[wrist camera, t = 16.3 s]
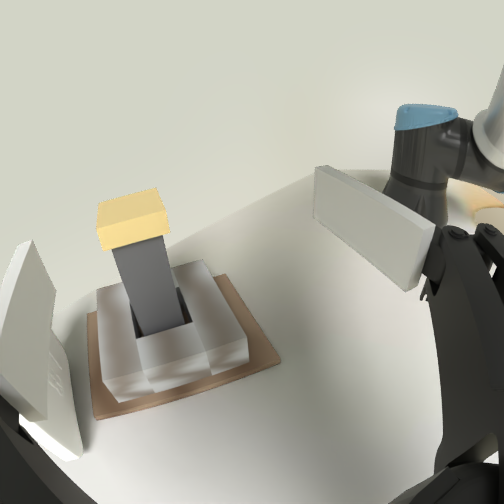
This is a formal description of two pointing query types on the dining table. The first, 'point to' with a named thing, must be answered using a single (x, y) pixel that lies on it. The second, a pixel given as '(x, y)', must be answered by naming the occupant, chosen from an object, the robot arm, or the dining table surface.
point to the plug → (142, 257)
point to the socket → (172, 345)
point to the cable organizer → (58, 409)
